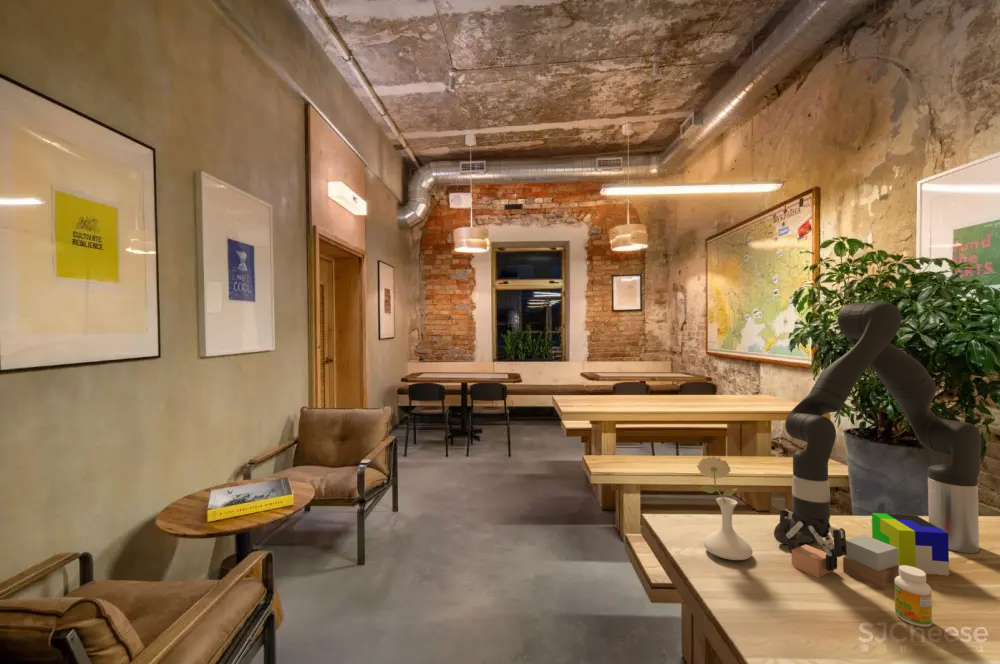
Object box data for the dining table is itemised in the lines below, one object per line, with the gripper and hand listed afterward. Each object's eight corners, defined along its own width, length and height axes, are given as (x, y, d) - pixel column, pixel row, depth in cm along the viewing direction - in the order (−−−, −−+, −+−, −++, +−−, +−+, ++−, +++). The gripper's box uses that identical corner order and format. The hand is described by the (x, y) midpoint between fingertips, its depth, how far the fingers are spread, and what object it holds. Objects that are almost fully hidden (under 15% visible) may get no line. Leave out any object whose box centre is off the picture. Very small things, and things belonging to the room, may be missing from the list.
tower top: (864, 550, 106) (863, 534, 106) (898, 565, 99) (897, 547, 99) (844, 556, 104) (844, 539, 104) (878, 571, 97) (877, 553, 97)
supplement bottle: (887, 611, 89) (886, 564, 89) (911, 609, 90) (910, 562, 90) (914, 628, 84) (913, 578, 84) (940, 626, 84) (939, 577, 84)
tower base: (863, 566, 107) (863, 549, 107) (903, 583, 99) (903, 565, 99) (843, 573, 104) (843, 556, 104) (883, 591, 96) (882, 573, 96)
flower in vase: (757, 552, 113) (755, 457, 113) (746, 570, 105) (744, 467, 105) (705, 537, 122) (703, 448, 122) (690, 552, 114) (689, 458, 114)
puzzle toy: (949, 575, 101) (948, 533, 101) (899, 571, 103) (898, 530, 103) (917, 554, 111) (916, 515, 111) (872, 551, 113) (871, 512, 113)
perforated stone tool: (782, 550, 114) (781, 524, 115) (766, 540, 120) (765, 515, 120) (829, 543, 117) (828, 518, 117) (811, 534, 123) (811, 510, 123)
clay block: (806, 560, 110) (805, 544, 110) (832, 571, 104) (832, 555, 104) (791, 566, 107) (791, 549, 107) (818, 578, 102) (818, 561, 102)
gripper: (853, 503, 100) (854, 572, 100) (791, 483, 114) (792, 545, 113) (832, 508, 97) (833, 580, 97) (772, 487, 111) (772, 551, 111)
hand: (811, 561), depth 105 cm, fingers open, 8 cm apart
